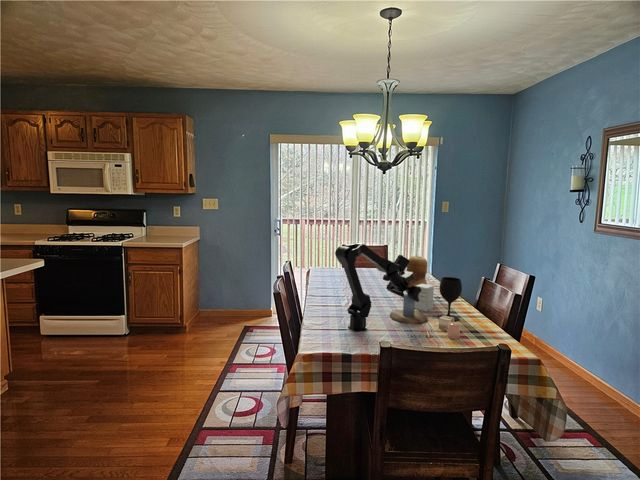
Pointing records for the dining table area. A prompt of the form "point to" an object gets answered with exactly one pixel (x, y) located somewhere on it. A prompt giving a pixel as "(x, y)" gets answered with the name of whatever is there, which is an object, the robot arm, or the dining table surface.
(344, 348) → the dining table surface
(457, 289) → the wine glass
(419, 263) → the butternut squash
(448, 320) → the birch block
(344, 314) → the dining table surface
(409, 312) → the blue-grey cup
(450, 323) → the pink short cylinder
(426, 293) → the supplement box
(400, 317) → the brown bread loaf
